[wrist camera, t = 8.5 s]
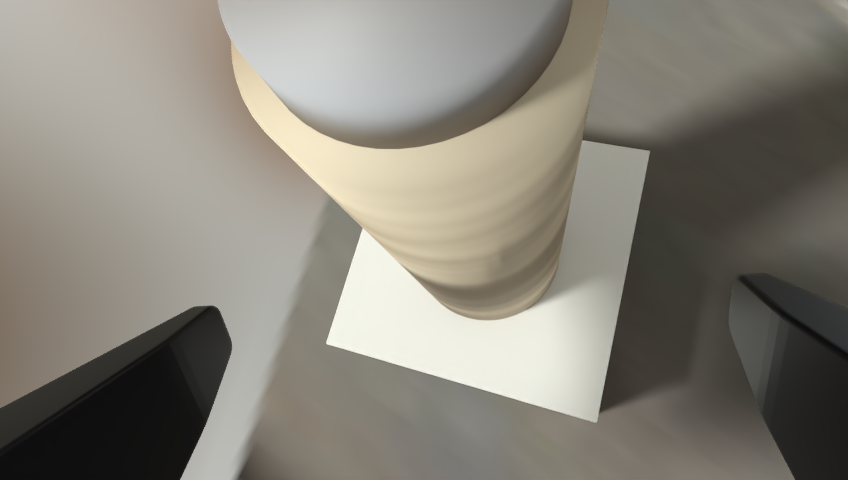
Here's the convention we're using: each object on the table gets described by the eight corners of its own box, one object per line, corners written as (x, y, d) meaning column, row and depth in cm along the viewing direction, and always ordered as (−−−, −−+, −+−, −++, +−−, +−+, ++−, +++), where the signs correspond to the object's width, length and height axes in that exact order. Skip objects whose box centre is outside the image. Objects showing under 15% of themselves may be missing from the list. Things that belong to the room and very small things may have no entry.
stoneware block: (585, 418, 19) (596, 422, 16) (358, 352, 21) (325, 343, 18) (632, 189, 21) (649, 151, 18) (419, 151, 23) (400, 111, 20)
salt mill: (578, 300, 17) (698, 54, 5) (433, 335, 17) (200, 199, 5) (536, 166, 18) (543, -284, 6) (404, 203, 19) (171, -142, 7)
